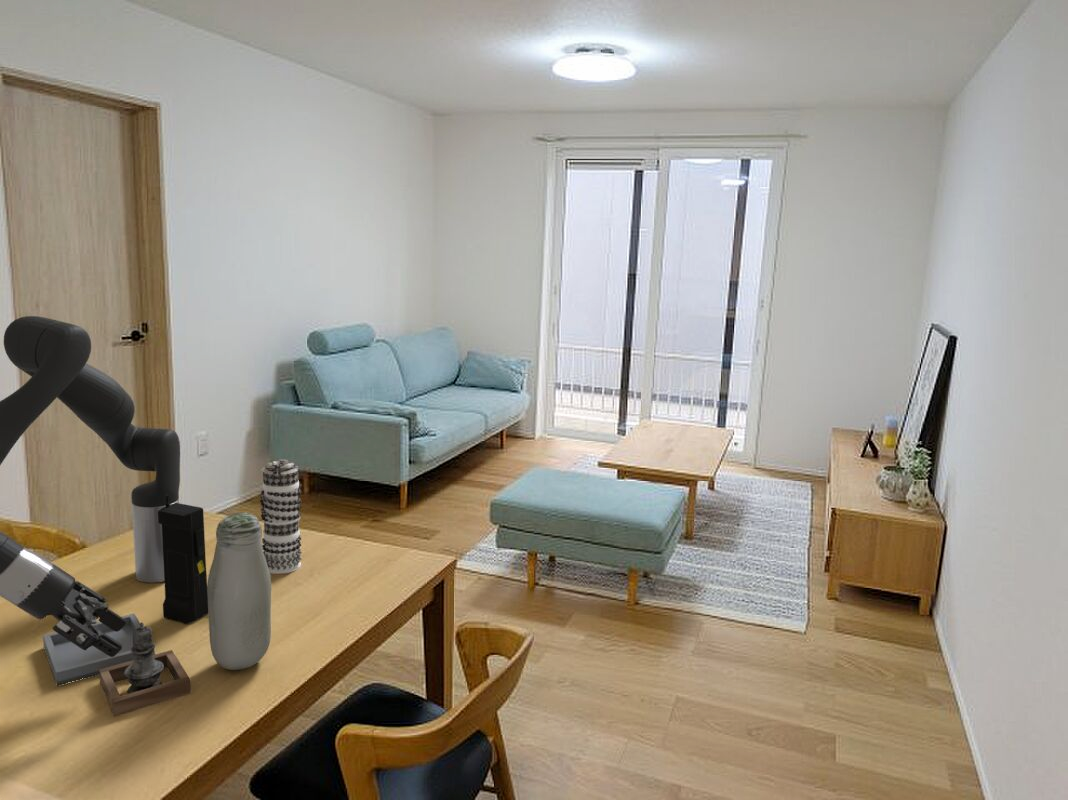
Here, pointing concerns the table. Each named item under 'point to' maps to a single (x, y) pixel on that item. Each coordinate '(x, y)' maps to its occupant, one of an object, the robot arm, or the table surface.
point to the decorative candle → (281, 516)
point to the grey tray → (88, 653)
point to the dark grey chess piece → (143, 662)
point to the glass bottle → (239, 594)
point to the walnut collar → (145, 696)
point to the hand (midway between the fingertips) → (120, 638)
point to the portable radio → (184, 562)
